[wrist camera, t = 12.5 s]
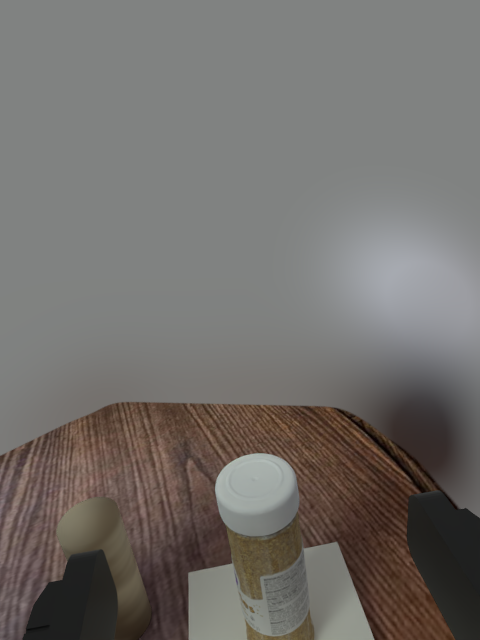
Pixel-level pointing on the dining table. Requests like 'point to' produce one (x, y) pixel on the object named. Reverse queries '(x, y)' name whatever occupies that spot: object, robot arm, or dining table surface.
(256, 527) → the sprinkles bottle
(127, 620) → the beech dowel
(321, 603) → the ceramic tile
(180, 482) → the dining table surface
